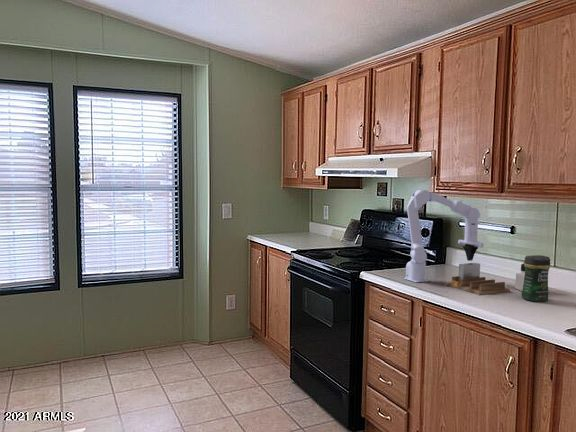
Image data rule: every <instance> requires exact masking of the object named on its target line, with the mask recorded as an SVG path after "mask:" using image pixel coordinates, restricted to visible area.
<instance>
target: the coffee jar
mask: <svg viewBox="0 0 576 432" xmlns="http://www.w3.org/2000/svg"><path fill="white" fill-rule="evenodd" d="M523 263H524V267H525V277H524V284H523V290H522V291H521V297H522V299H523V300H525V301H529V302H530V301H531V302H538V303H539V302H547V301H548V300H549V271H550V268H551V259H550V257H549V256H546V255H539V254H538V255H537V254H536V255H526V256H525V257H524V262H523Z"/></svg>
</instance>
